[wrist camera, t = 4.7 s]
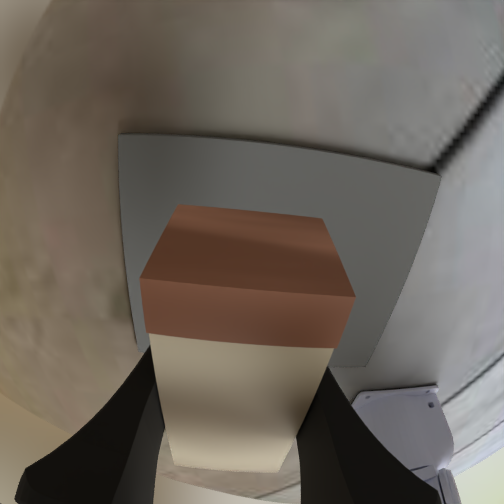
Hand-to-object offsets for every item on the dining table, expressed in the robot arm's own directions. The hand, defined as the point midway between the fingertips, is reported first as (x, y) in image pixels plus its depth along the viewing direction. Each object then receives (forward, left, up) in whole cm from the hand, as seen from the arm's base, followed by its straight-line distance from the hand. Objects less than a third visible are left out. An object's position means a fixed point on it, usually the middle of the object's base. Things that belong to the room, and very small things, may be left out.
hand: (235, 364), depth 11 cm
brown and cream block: (0, 0, -2) cm, 2 cm away
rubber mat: (-2, +2, -9) cm, 9 cm away
